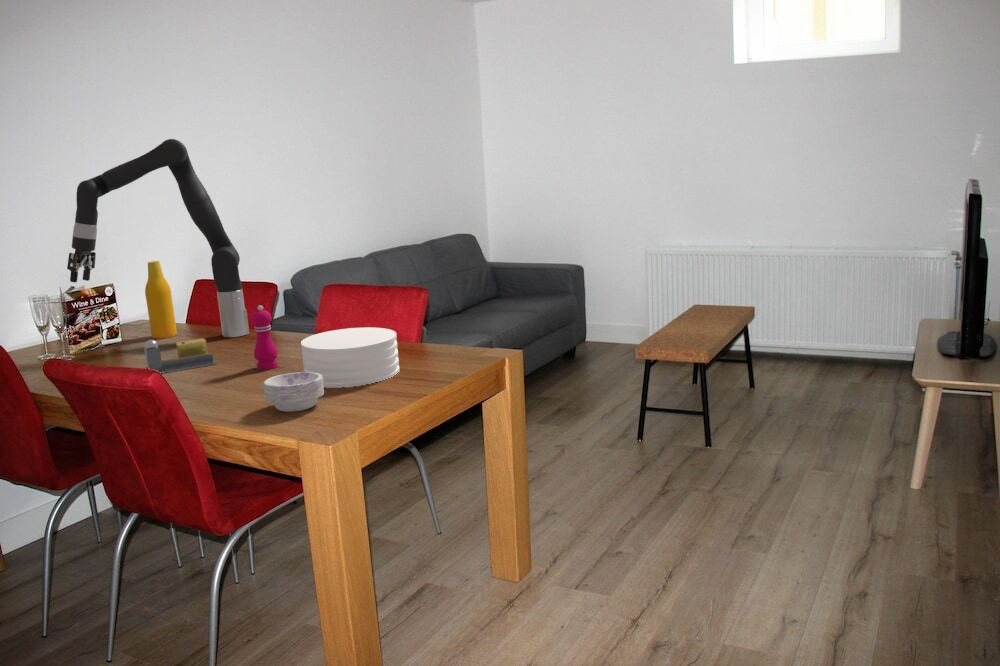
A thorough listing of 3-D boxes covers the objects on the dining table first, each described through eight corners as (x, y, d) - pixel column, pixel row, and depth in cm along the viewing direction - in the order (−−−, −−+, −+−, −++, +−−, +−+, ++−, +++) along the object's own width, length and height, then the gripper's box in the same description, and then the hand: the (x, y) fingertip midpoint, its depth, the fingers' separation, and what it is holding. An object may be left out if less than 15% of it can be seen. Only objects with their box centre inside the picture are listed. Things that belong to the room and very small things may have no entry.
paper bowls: (316, 395, 235) (313, 367, 233) (332, 408, 221) (329, 379, 220) (260, 405, 228) (257, 377, 226) (274, 420, 214) (270, 389, 213)
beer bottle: (182, 334, 329) (171, 260, 323) (162, 339, 321) (150, 263, 315) (167, 332, 334) (156, 259, 328) (146, 338, 326) (135, 263, 320)
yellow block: (205, 353, 294) (203, 337, 293) (208, 356, 289) (206, 340, 288) (178, 358, 290) (175, 341, 289) (180, 361, 285) (178, 344, 284)
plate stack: (418, 367, 259) (415, 330, 256) (358, 392, 235) (354, 352, 233) (347, 360, 273) (343, 325, 270) (284, 383, 249) (280, 345, 247)
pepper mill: (250, 369, 267) (242, 307, 263) (267, 363, 274) (259, 302, 269) (268, 371, 264) (260, 308, 260) (284, 365, 270) (276, 303, 266)
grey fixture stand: (209, 357, 287) (205, 328, 285) (216, 364, 277) (211, 334, 275) (146, 367, 278) (141, 337, 276) (150, 375, 268) (145, 344, 265)
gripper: (84, 238, 295) (79, 284, 297) (104, 237, 309) (100, 281, 311) (63, 234, 295) (58, 280, 297) (84, 234, 309) (80, 277, 311)
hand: (79, 281), depth 304 cm, fingers open, 8 cm apart
